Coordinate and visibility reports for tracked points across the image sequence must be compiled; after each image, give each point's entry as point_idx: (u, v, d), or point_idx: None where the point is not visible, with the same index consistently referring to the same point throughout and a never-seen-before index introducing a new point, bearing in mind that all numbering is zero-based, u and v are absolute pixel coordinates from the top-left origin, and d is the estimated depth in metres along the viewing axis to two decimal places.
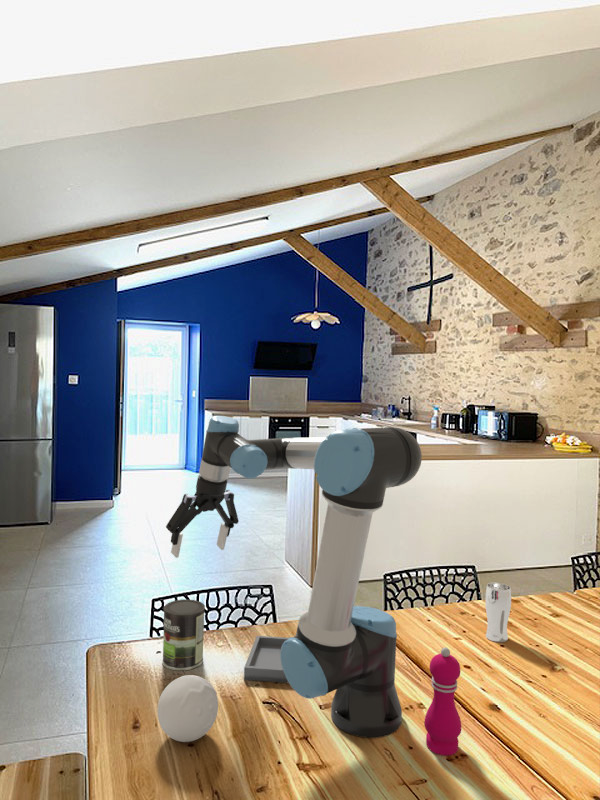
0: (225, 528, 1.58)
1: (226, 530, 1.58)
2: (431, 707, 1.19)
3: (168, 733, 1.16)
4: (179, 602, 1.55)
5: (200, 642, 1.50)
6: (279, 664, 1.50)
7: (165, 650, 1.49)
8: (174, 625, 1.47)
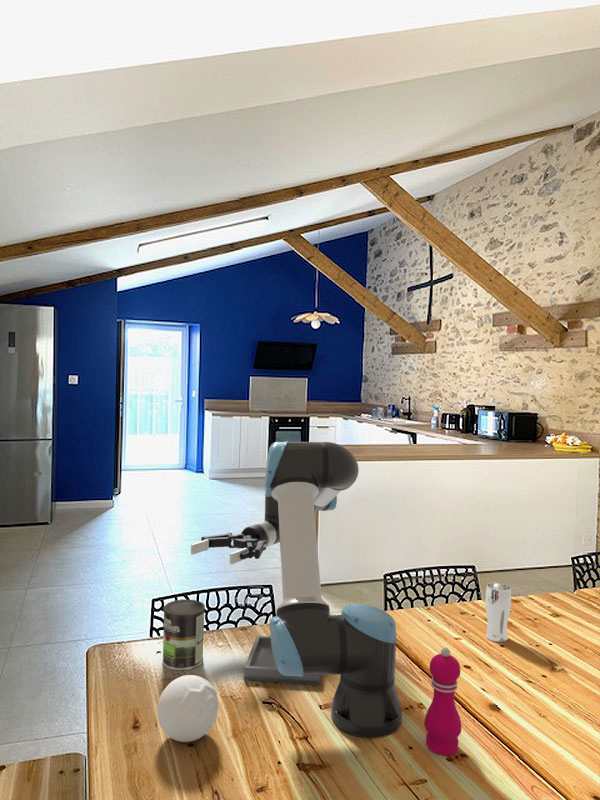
0: None
1: (244, 548, 1.61)
2: (431, 707, 1.19)
3: (168, 733, 1.16)
4: (179, 602, 1.55)
5: (200, 642, 1.50)
6: None
7: (165, 650, 1.49)
8: (174, 625, 1.47)
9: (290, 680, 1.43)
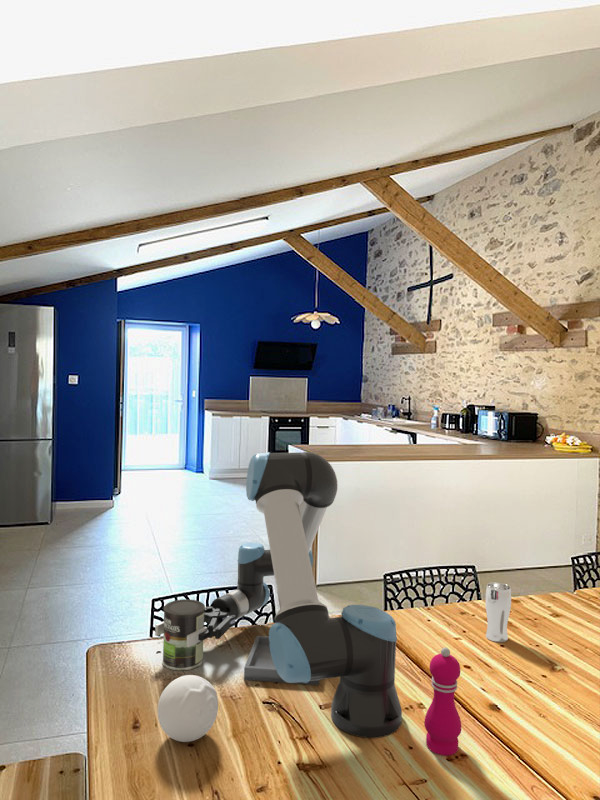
0: None
1: (203, 628, 1.50)
2: (431, 707, 1.19)
3: (168, 733, 1.16)
4: (179, 601, 1.55)
5: (200, 642, 1.50)
6: None
7: (165, 650, 1.49)
8: (174, 625, 1.47)
9: None
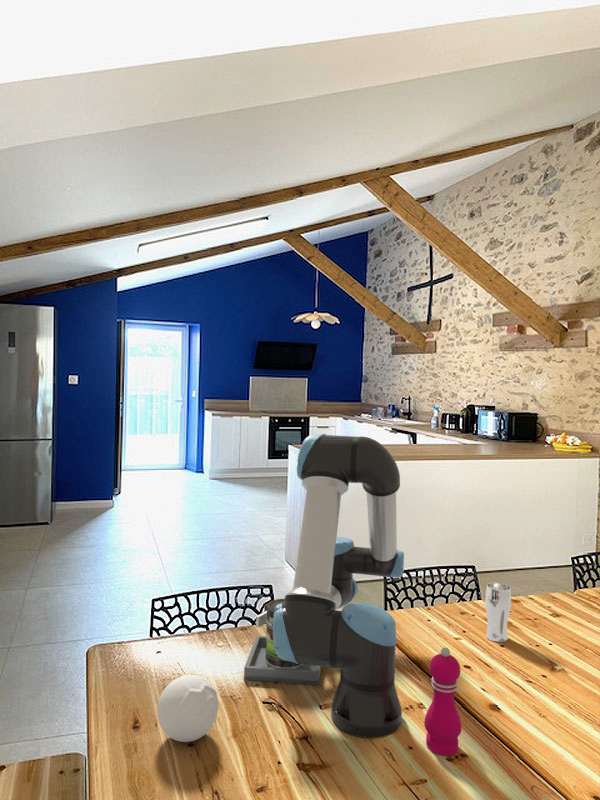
0: None
1: None
2: (431, 707, 1.19)
3: (168, 733, 1.16)
4: (279, 601, 1.55)
5: None
6: None
7: (269, 649, 1.49)
8: None
9: (290, 680, 1.43)
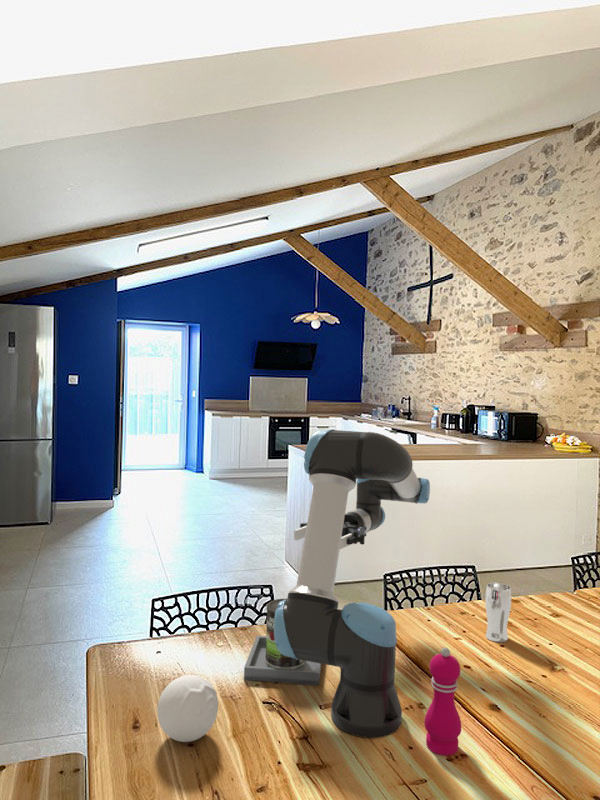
0: None
1: (349, 534, 1.60)
2: (431, 707, 1.19)
3: (168, 733, 1.16)
4: (280, 601, 1.55)
5: None
6: None
7: (269, 649, 1.49)
8: None
9: (290, 680, 1.43)
